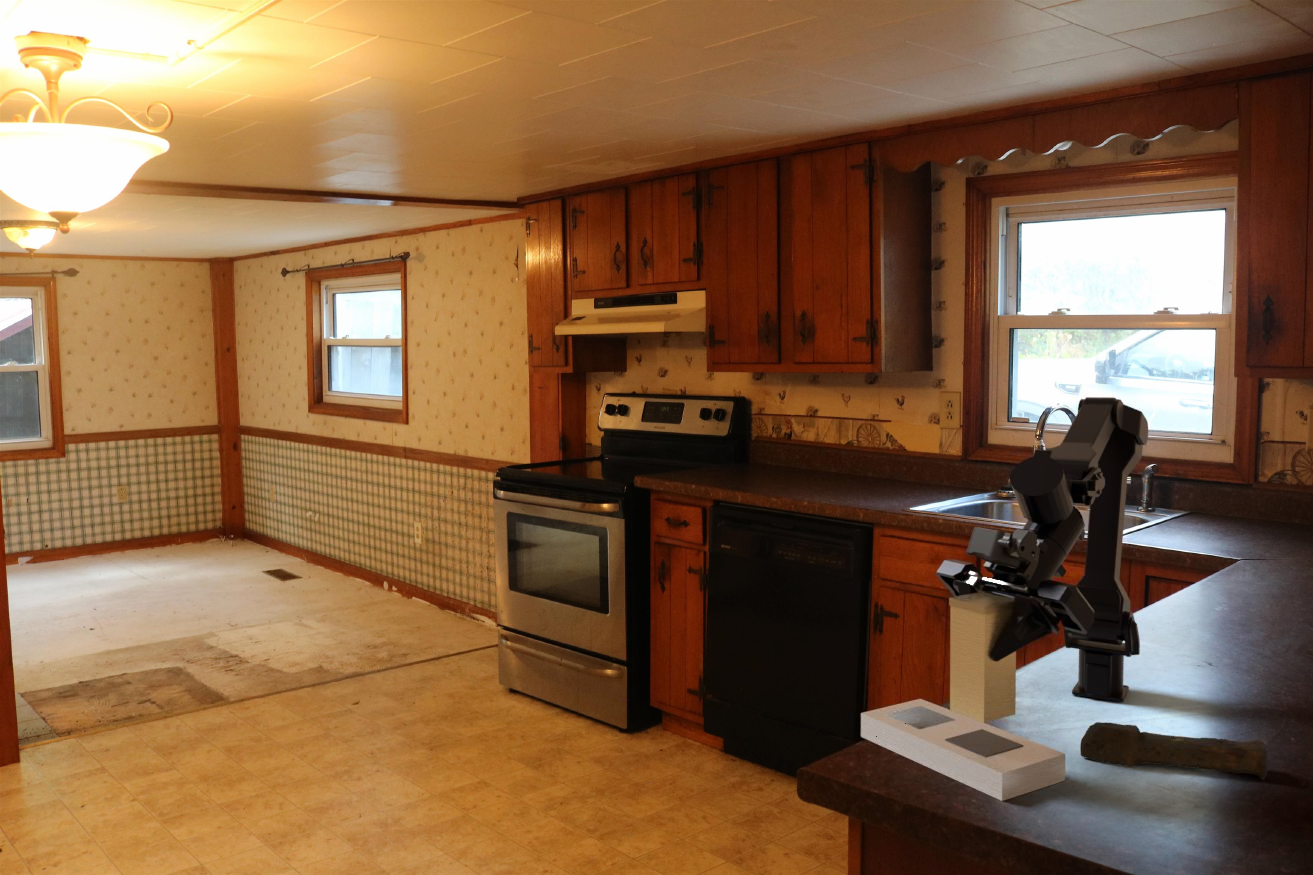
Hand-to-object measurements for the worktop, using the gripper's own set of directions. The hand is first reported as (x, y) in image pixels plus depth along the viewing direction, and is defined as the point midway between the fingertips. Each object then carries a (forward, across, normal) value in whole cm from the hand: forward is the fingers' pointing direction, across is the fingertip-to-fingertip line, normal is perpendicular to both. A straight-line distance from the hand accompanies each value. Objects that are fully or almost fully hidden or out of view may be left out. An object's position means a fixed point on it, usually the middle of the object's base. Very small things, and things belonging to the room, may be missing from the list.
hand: (974, 653), depth 115 cm
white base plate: (+9, -4, +10) cm, 14 cm away
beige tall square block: (+4, 0, +6) cm, 7 cm away
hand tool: (-4, +11, +24) cm, 26 cm away
